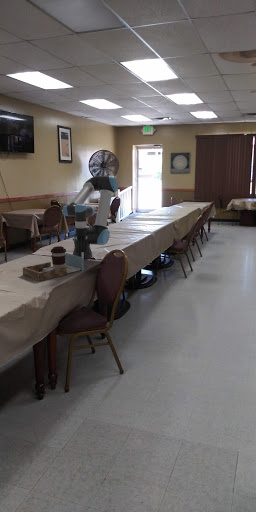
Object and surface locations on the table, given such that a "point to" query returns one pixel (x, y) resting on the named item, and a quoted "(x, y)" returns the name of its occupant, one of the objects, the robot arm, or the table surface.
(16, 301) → the table surface
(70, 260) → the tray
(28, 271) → the brown wooden frame
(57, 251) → the coffee cup
